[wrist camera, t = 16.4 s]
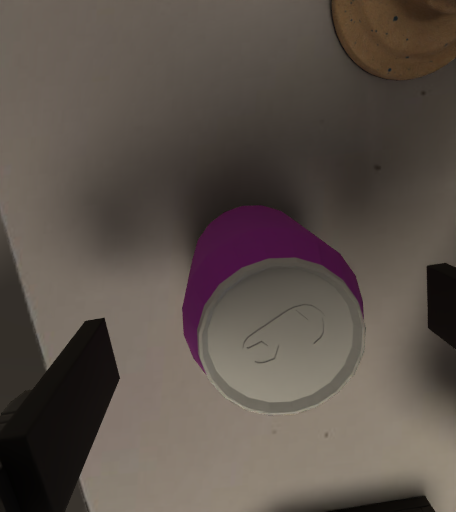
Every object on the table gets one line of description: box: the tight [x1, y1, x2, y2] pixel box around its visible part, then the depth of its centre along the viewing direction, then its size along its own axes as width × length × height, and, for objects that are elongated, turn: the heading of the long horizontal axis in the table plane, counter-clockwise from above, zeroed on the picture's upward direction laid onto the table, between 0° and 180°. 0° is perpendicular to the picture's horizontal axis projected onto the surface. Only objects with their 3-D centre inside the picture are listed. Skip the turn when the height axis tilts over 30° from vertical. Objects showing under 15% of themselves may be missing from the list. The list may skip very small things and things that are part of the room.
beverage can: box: [182, 205, 366, 416], centre depth 20 cm, size 8×8×12 cm
